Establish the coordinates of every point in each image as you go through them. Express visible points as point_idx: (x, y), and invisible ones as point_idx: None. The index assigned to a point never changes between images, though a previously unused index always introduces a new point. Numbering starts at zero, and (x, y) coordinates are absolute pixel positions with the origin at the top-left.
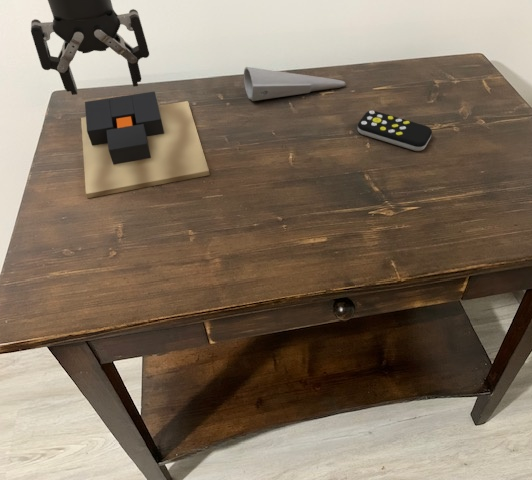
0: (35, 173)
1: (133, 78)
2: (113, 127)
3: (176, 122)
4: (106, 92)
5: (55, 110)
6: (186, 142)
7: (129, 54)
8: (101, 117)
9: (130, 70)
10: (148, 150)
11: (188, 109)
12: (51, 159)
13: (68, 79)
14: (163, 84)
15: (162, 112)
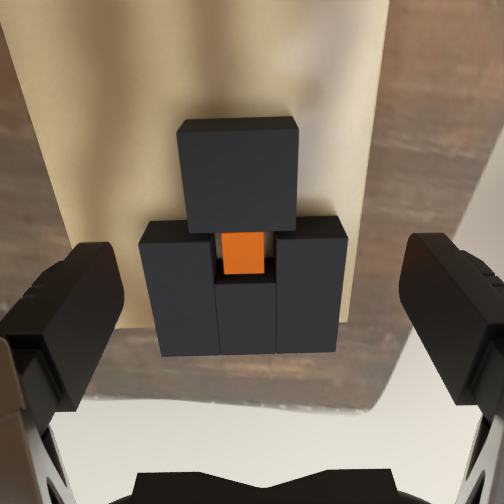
0: (490, 153)
1: (75, 265)
2: (275, 246)
3: (119, 258)
4: (283, 391)
5: (392, 360)
6: (84, 167)
7: None
8: (302, 286)
9: (55, 300)
10: (181, 125)
11: None
12: (439, 200)
13: (481, 286)
14: (163, 393)
15: None
